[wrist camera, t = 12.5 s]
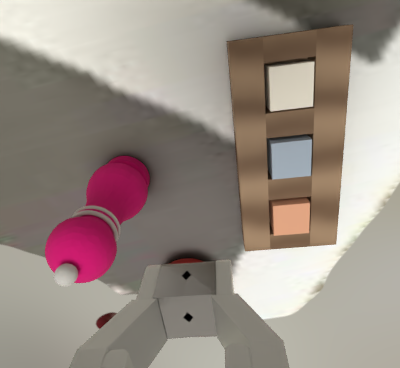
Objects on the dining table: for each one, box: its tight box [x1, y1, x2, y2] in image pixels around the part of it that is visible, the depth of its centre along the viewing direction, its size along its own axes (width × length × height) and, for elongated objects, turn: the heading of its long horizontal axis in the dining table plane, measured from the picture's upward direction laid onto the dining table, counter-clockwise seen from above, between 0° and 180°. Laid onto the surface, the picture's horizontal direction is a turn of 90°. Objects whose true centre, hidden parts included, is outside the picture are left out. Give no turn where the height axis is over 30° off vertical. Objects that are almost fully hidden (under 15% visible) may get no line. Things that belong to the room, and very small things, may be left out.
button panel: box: [227, 25, 353, 251], centre depth 37 cm, size 26×12×4 cm, turn 7°
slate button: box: [267, 134, 312, 180], centre depth 36 cm, size 4×4×4 cm
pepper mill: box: [45, 156, 150, 286], centre depth 33 cm, size 7×7×20 cm
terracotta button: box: [269, 197, 310, 236], centre depth 39 cm, size 4×4×4 cm
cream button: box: [264, 59, 314, 111], centre depth 33 cm, size 4×4×4 cm
